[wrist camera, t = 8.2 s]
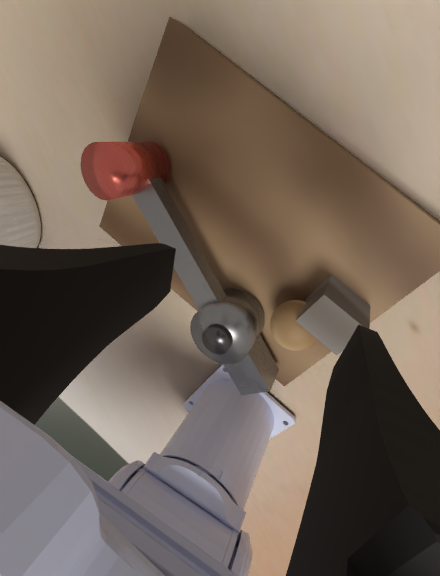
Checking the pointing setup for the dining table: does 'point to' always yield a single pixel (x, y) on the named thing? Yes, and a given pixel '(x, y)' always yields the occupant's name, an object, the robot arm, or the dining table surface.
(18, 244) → the ramekin
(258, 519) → the dining table surface
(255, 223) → the board
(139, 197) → the lever
